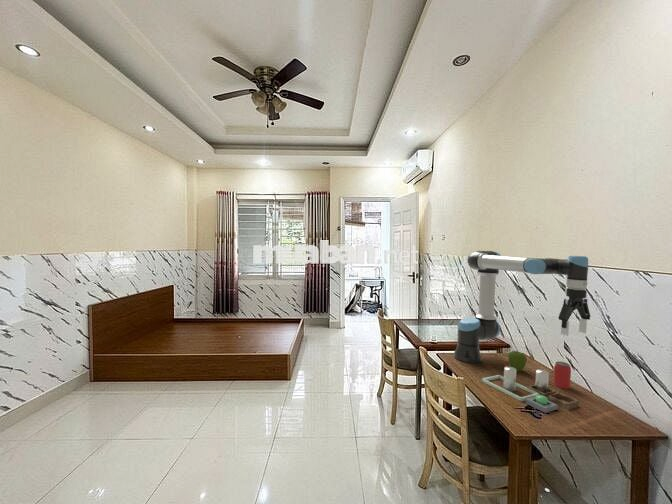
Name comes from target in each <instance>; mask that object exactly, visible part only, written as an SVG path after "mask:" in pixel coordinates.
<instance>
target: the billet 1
mask: <svg viewBox="0 0 672 504" xmlns="http://www.w3.org/2000/svg"><path fill="white" fill-rule="evenodd" d="M503 377H504V380H502V381H503V383H502V384H503V385H502V388H503V389H505V390H507V391H509V392H514V391H516V388H517V386H516V383H517V372H516V369H515V368H513V367H511V366H504V368H503Z"/></svg>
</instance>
